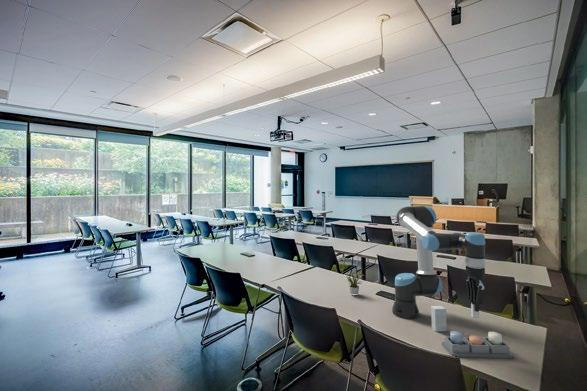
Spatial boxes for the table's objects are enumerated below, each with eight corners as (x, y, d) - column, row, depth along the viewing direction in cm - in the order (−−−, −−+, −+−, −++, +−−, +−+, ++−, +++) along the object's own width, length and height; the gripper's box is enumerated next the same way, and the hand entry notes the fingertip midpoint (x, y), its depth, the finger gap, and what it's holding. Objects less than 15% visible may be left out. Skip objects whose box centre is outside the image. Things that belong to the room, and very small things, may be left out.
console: (441, 344, 137) (441, 335, 137) (498, 345, 135) (498, 336, 135) (451, 356, 127) (451, 346, 127) (513, 357, 125) (513, 347, 125)
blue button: (448, 338, 134) (448, 330, 134) (459, 338, 134) (459, 331, 134) (453, 344, 129) (453, 336, 129) (465, 344, 129) (465, 336, 129)
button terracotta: (466, 342, 134) (466, 335, 134) (478, 342, 133) (478, 335, 133) (473, 348, 129) (473, 341, 128) (485, 349, 128) (485, 341, 128)
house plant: (364, 291, 211) (364, 269, 211) (367, 298, 197) (367, 274, 197) (345, 291, 212) (344, 269, 212) (346, 297, 199) (346, 274, 198)
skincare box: (442, 327, 154) (441, 305, 154) (446, 331, 149) (446, 308, 149) (431, 328, 154) (430, 305, 153) (435, 331, 149) (435, 309, 149)
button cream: (485, 339, 133) (485, 331, 133) (497, 339, 133) (497, 331, 133) (492, 344, 128) (492, 337, 128) (504, 345, 128) (504, 337, 128)
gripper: (459, 262, 137) (459, 311, 138) (474, 270, 124) (474, 323, 125) (475, 262, 137) (475, 311, 137) (492, 270, 124) (492, 324, 124)
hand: (475, 317), depth 131 cm, fingers closed
